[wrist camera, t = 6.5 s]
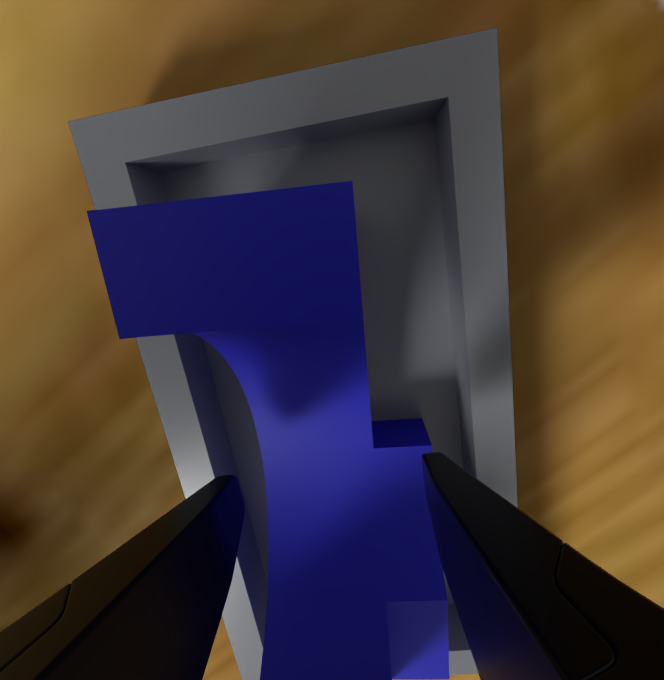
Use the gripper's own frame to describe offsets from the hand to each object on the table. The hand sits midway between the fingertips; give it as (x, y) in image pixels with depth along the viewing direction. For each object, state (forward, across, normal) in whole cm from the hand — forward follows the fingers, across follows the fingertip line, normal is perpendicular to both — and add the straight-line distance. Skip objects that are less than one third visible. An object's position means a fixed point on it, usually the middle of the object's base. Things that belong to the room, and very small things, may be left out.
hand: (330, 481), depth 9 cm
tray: (+4, 0, 0) cm, 4 cm away
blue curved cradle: (+3, 0, 0) cm, 3 cm away
